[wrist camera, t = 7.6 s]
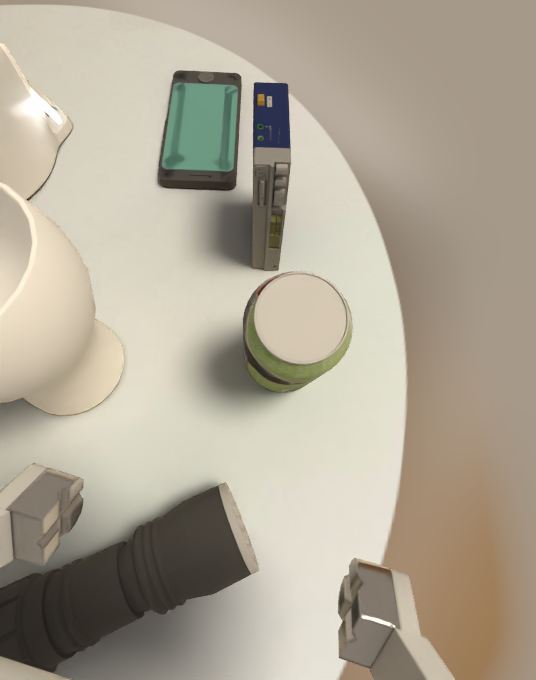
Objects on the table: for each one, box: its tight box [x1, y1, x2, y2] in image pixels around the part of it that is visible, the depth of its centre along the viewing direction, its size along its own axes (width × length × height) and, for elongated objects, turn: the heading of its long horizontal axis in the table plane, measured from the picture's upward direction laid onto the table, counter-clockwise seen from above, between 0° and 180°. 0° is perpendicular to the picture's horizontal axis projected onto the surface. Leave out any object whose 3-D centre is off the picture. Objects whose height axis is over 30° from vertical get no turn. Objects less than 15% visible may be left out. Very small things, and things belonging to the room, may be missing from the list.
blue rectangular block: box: [253, 82, 291, 270], centre depth 30 cm, size 7×2×12 cm, turn 0°
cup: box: [0, 182, 124, 415], centre depth 23 cm, size 11×11×15 cm
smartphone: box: [159, 71, 241, 190], centre depth 39 cm, size 7×1×15 cm
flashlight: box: [0, 483, 259, 673], centre depth 23 cm, size 15×5×5 cm, turn 114°
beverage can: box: [243, 272, 353, 392], centre depth 25 cm, size 6×7×12 cm
